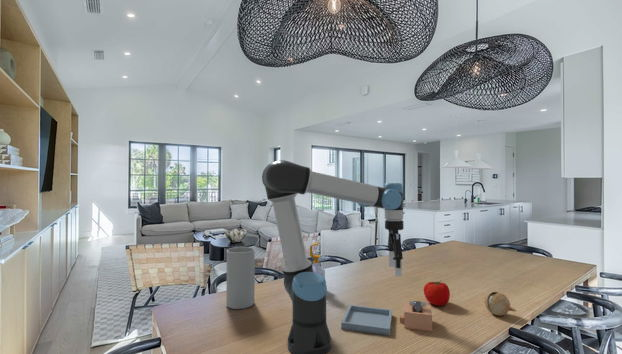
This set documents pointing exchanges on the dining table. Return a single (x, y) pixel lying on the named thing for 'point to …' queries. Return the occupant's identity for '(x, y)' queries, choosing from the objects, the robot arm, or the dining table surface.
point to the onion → (498, 304)
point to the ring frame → (417, 318)
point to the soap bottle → (317, 263)
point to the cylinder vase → (240, 277)
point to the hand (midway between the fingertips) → (394, 270)
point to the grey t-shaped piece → (417, 305)
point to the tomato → (437, 293)
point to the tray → (367, 319)
